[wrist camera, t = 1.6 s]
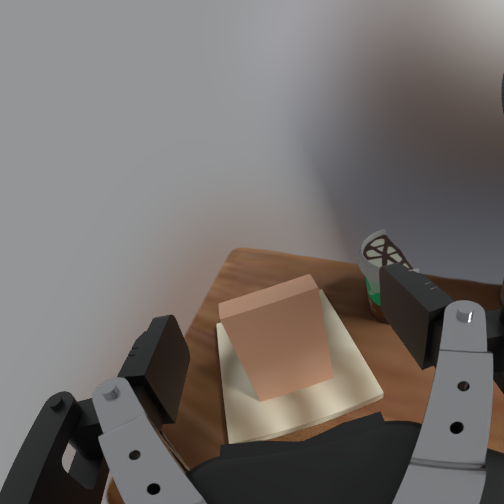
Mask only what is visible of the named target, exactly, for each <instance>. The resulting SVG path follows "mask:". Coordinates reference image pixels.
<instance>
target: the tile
mask: <svg viewBox="0 0 504 504" xmlns="http://www.w3.org/2000/svg"><path fill="white" fill-rule="evenodd" d="M219 314H220V320H221V323H222V325H223V327H224V329H225V331H226V333H227V335H228V337H229V339H230V342H231V344H232V346H233V348H234V350H235V352H236V354H237V356H238V358H239V360H240V362H241V364H242V366H243V368H244V370H245V372H246V374H247V376H248V378H249V380H250V382H251V384H252V386H253V388H254V390H255V392H256V394H257V395H258V397H259V399H260V401H261V402H262V401H266V400H269V399H272V398H276V397H279V396H282V395H286V394H289V393H292V392H295V391H298V390H301V389H304V388H307V387H310V386H313V385H315V384H318V383H321V382H324V381H326V380H329V379H332V378H333V374H332V367H331V360H330V354H329V347H328V341H327V335H326V329H325V323H324V317H323V311H322V305H321V300H320V294H319V289H318V286H317V285H316V283H315V281H314V280H313V278H312V277H311V275H310V274H307V275H304V276H302V277H299V278H296V279H293V280H290V281H287V282H284V283H281V284H278V285H275V286H272V287H269V288H266V289H263V290H260V291H257V292H253V293H250V294H247V295H244V296H241V297H238V298H235V299H232V300H228V301H225V302H222V303H219Z"/></svg>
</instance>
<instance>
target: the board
mask: <svg viewBox="0 0 504 504" xmlns="http://www.w3.org/2000/svg"><path fill="white" fill-rule="evenodd" d="M319 294H320V300H321V305H322V311H323V317H324V323H325V329H326V335H327V341H328V347H329V354H330V360H331V367H332V374H333V378H332V379H329V380H326V381H324V382H321V383H318V384H315V385H313V386H310V387H307V388H304V389H301V390H298V391H295V392H292V393H289V394H286V395H282V396H279V397H276V398H272V399H269V400H266V401H262V402H261V401H260V399H259V397H258V395H257V394H256V392H255V390H254V388H253V386H252V384H251V382H250V380H249V378H248V376H247V374H246V372H245V370H244V368H243V366H242V364H241V362H240V360H239V358H238V356H237V354H236V352H235V350H234V348H233V346H232V344H231V342H230V339H229V337H228V335H227V333H226V331H225V329H224V327H223V325H222V323H218V324H217V336H218V347H219V358H220V368H221V378H222V388H223V397H224V406H225V414H226V423H227V431H228V439H229V444H235V443H244V442H252V441H259V440H261V441H263V440H267V439H271V438H275V437H278V436H282V435H285V434H289V433H292V432H296V431H299V430H302V429H305V428H308V427H311V426H314V425H317V424H320V423H323V422H326V421H328V420H331V419H334V418H336V417H339V416H342V415H344V414H347V413H349V412H352V411H354V410H357V409H359V408H361V407H364V406H366V405H368V404H371V403H373V402H375V401H377V400H379V399H382V398H383V391H382V389H381V387H380V386H379V384H378V382H377V380H376V379H375V377H374V375H373V374H372V372H371V370H370V368H369V367H368V365H367V363H366V362H365V360H364V358H363V356H362V355H361V353H360V351H359V350H358V348H357V346H356V345H355V343H354V341H353V340H352V338H351V336H350V335H349V333H348V331H347V330H346V328H345V326H344V325H343V323H342V321H341V320H340V318H339V317H338V315H337V313H336V312H335V310H334V308H333V307H332V305H331V304H330V302H329V300H328V299H327V297H326V296H325V294H324V292H323V291H322V289H321V290H319Z"/></svg>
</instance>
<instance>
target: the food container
mask: <svg viewBox="0 0 504 504" xmlns="http://www.w3.org/2000/svg"><path fill="white" fill-rule="evenodd" d="M397 262H399V263H400V264H402V265H403V266H404V267H405V268H406V269H408V270H409V271H415V272H418V273H419V268H417V269H413V268H412V267H411V265H410V264H409V263H408V261H407V260H406V259H405V257H404V256H403V254H402V252H401V251H400V249H398V248H397V247H396V246H395V245H394V244H393V243H392V242H391V241H390V239H389V238H388V237H387V236H386V229H384V230H380V231H378V232H375V233H373V234H372V235H370V236H369V237H368V238H367V239H366V240H365V241H364V242H363V244H362V247H361V249H360V254H359V262H358V263H359V268H360V270H361V272H362V273H363V274H364V275H365V279H366V285H367V292H368V299H369V307H370V311H371V313H372V314H373V316H374V317H375V318H377V319H378V320H380V321H381V322H384V323H387V324H389V323H388V321H387V320H386V319H385V317H384V315H383V313H382V309H381V303H380V282H379V269H380V267H382V266H386V265H389V264H393V263H397Z"/></svg>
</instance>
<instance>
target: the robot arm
mask: <svg viewBox="0 0 504 504" xmlns="http://www.w3.org/2000/svg"><path fill="white" fill-rule="evenodd" d="M502 107H503V112H504V75H503V80H502ZM379 282H380V303H381V309H382V313H383V315H384V317H385V319H386V320H387V321H388V323H389V324H390V325H391V327H392V328H393V330H394V331H395V332H396V334H397V335H398V336H399V338H400V339H401V341H402V342H403V343H404V345H405V346H406V348H407V349H408V350H409V352H410V353H411V355H412V356H413V358H414V359H415V360H416V362H417V363H418V365H419V366H420V368H421V369H422V370H424V369H426V368H428V367H431V366H434V367H435V368H436V370H435V375H434V379H433V384H432V388H431V392H430V397H429V400H428V404H427V408H426V412H425V415H424V419H423V422H422V424H420V423H416V422H410V421H384V419H383V417H382V414H381V412H377V413H374V414H371V415H368V416H365V417H362V418H358V419H355V420H352V421H348V422H345V423H342V424H340V425H338V426H336V427H334V428H331V429H329V430H327V431H325V432H323V433H321V434H319V435H317V436H314V437H312V438H310V439H307V440H305V441H300V442H286V441H261V440H259V441H252V442H244V443H235V444H225V445H221V450H220V456H218V457H215V458H212V459H210V460H207V461H205V462H203V463H201V464H199V465H198V466H196V467H194V468H193V469H191V470H190V469H189V468H188V466H187V465H186V464H185V463H184V461H183V460H182V458H181V457H180V456H179V454H178V453H177V452H176V450H175V449H174V447H173V446H172V445H171V443H170V442H169V440H168V439H167V437H166V436H165V434H164V433H163V432H162V430H161V428H162V424H173V423H175V420H176V416H177V412H178V407H179V403H180V399H181V395H182V390H183V386H184V382H185V378H186V374H187V370H188V366H189V361H190V354H189V349H188V346H187V344H186V342H185V339H184V337H183V335H182V332H181V330H180V328H179V325H178V323H177V321H176V318H175V317H174V316H173V315H166V316H161V317H155V318H153V320H152V322H151V324H150V326H149V328H148V330H147V331H145V332H144V333H143V334H142V335H141V336H140V337H139V338H138V339H137V340H136V341H135V343H134V345H133V347H132V350H131V351H130V353H129V354H128V357H127V358H126V360H125V362H124V364H123V366H122V368H121V370H120V372H119V374H118V376H117V377H116V378H112V379H108V380H106V381H104V382H103V383H101V384H100V385H99V386H98V387H97V388H96V389H95V391H94V392H93V395H92V398H90V399H87V400H83V401H79V402H77V401H76V400H75V398H74V397H73V396H72V394H71V393H69V392H65V391H64V392H59V393H57V394H55V395H53V396H51V397H50V398H49V399H48V400H47V401H46V403H45V404H44V406H43V408H42V409H41V411H40V413H39V415H38V416H37V418H36V420H35V422H34V424H33V425H32V427H31V429H30V431H29V433H28V435H27V437H26V439H25V441H24V443H23V445H22V447H21V449H20V450H19V453H18V455H17V457H16V459H15V461H14V463H13V465H12V467H11V469H10V471H9V474H8V476H7V479H6V480H5V483H4V485H3V487H2V490H1V492H0V504H101V501H102V497H103V493H104V489H105V485H106V481H107V478H108V473H109V470H110V472H111V474H112V476H113V479H114V481H115V483H116V486H117V488H118V490H119V492H120V494H121V496H122V498H123V501H124V503H125V504H504V453H501V452H497V451H494V450H491V449H488V448H487V445H488V438H489V430H490V422H491V411H492V395H493V380H494V381H495V383H496V384H497V385H498V387H499V388H500V390H501V391H502V392H503V394H504V281H503V284H502V288H501V292H500V301H501V304H502V306H501V308H499V309H494V310H488V311H484V309H483V308H482V307H481V306H480V305H479V304H477V303H475V302H472V301H467V300H461V301H455V300H454V299H452V298H451V297H450V296H449V295H448V294H447V293H445V292H444V291H443V290H442V289H441V288H439V287H437V285H436V284H435V283H433V282H431V280H430V279H428V278H427V277H426V276H425V275H423V274H420V273H418V272H415V271H409V270H408V269H406V268H405V267H404V266H403V265H402V264H400V263H399V262H397V263H393V264H389V265H386V266H382V267H380V269H379ZM68 442H69V443H70V445H71V446H72V447H73V448H74V449H75V450H76V454H75V456H74V459H73V461H72V464H71V467H70V470H69V473H67V472H66V471H65V470H64V468H63V466H62V456H63V454H64V451H65V449H66V446H67V444H68Z"/></svg>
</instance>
